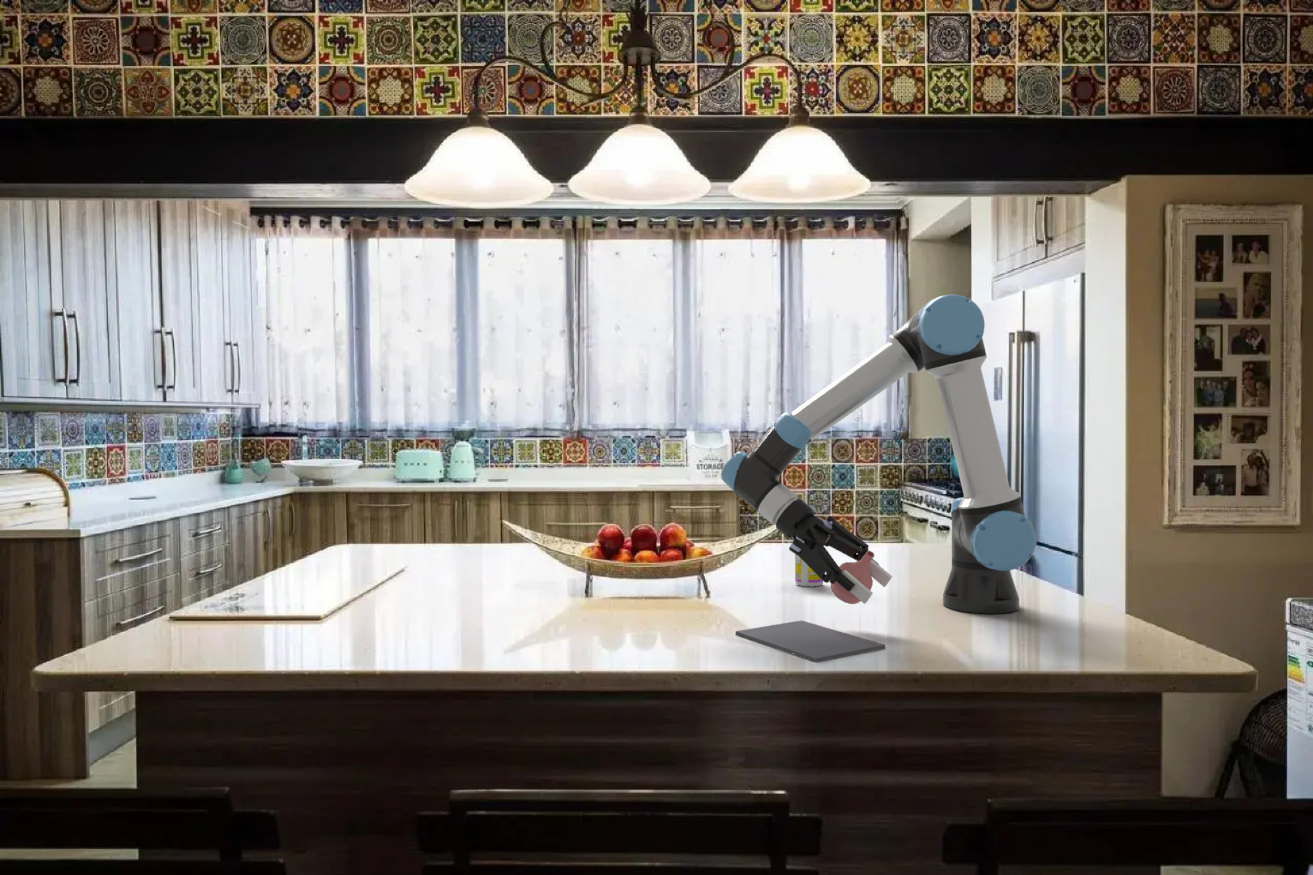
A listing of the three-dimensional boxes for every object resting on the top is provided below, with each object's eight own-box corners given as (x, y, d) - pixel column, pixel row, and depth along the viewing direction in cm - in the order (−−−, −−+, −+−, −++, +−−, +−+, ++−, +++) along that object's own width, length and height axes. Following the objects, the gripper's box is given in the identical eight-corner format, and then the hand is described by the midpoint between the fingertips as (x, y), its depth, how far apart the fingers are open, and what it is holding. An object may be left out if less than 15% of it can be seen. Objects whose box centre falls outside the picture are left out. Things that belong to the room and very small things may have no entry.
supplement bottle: (827, 583, 215) (827, 530, 214) (817, 588, 209) (817, 533, 209) (801, 581, 218) (801, 528, 218) (790, 585, 213) (790, 531, 212)
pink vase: (860, 616, 170) (889, 575, 163) (823, 601, 170) (850, 559, 163) (862, 588, 176) (890, 548, 169) (826, 574, 176) (852, 532, 169)
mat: (801, 623, 174) (801, 620, 174) (885, 648, 155) (885, 644, 155) (735, 634, 166) (735, 631, 166) (815, 662, 147) (815, 658, 147)
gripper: (806, 507, 185) (894, 581, 176) (750, 543, 172) (843, 625, 163) (821, 482, 181) (912, 556, 172) (765, 516, 167) (861, 599, 158)
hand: (878, 590), depth 167 cm, fingers closed on pink vase, 7 cm apart
